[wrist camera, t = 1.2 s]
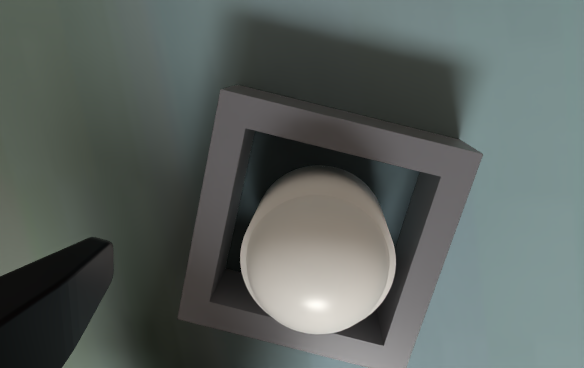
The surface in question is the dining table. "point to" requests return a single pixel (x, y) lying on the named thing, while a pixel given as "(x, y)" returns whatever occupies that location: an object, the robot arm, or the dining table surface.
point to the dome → (318, 251)
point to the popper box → (348, 139)
